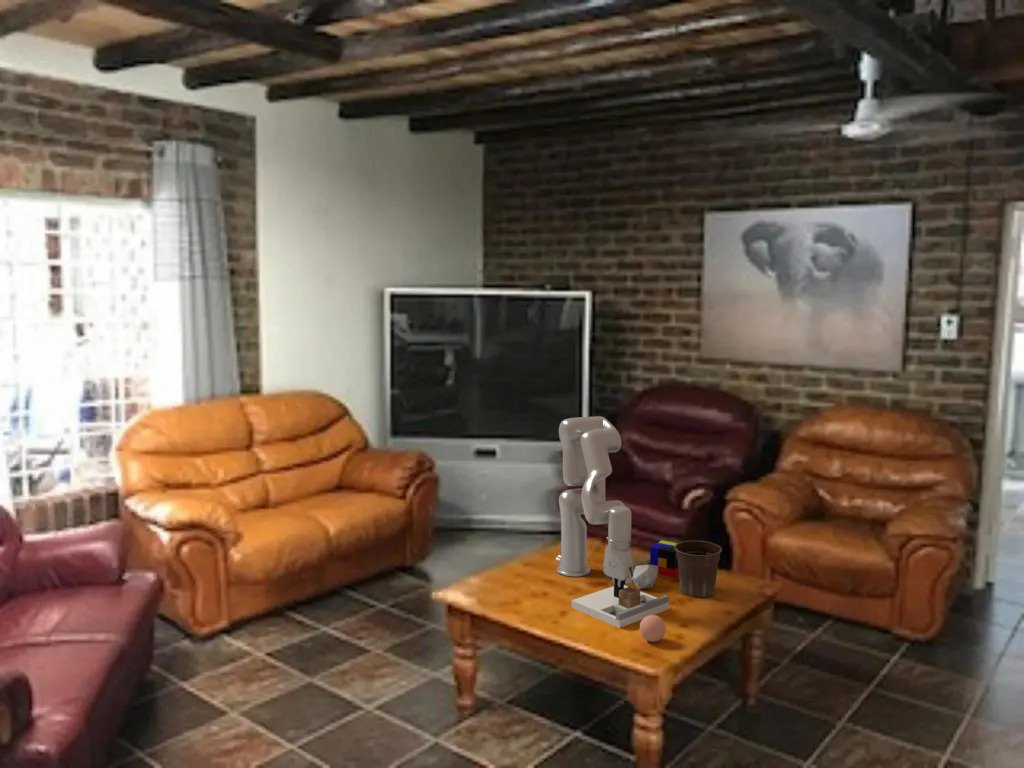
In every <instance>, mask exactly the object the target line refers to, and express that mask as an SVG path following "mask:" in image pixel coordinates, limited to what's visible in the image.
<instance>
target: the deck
mask: <svg viewBox="0 0 1024 768" xmlns="http://www.w3.org/2000/svg"><path fill="white" fill-rule="evenodd" d="M627 587H629V586H627V585H624V588H627ZM639 591H640V605H637V606H634V607H631V608H629V609H628V608H626V607H623V606H621V605H619V598H616V597H614V585H613V586H610V587H607V588H604V589H601V590H598V591H596V592H592V593H589V594H586V595H583V596H581V597H578V598H575V599H571V601H570V602H571V606H570V607H571V609H573V610H576V611H579V612H581V613H583V614H586V615H588V616H591V617H593V618H595V619H597V620H599V621H602V622H604V623H607V624H609V625H611V626H614V627H615V628H618V629H620V628H623V627H625V626H628V625H630V624H631V625H632V624H634V623H636V622H639V621H642V620H643V619H644V618H645V617H646V616H649V615H658V614H661V613H662V612H664V611H668V610H669V609H670V596H669V595H667V594H664V595H661V596H659V597H656V596H654V595H651V594H649V593H646V592H644V591H641V590H639Z"/></svg>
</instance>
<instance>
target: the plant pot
mask: <svg viewBox="0 0 1024 768" xmlns="http://www.w3.org/2000/svg"><path fill="white" fill-rule="evenodd" d="M674 548H675V550H676V557H677V560H678V570H679V575H678V579H679V580H678V581H679V591H680V592H681V593H682V594H683V595H685V596H687V597H688V596H689V597H690V596H693V597H694V598H706V597H707V598H708V597H711V596H713V595H714V593H716V585H717V584H716V583H717V576H718V566H719V562H720V559H721V558H720V556H721V553H722V550H723V548H722V547H721V546H720V545H718V544H717V543H715V542H714V543H713V542H712V541H711V542H710V541H706V540H705V541H704V540H684V541H680V542H678V543H677V544H676V545H675V546H674Z"/></svg>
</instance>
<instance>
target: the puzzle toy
mask: <svg viewBox="0 0 1024 768" xmlns="http://www.w3.org/2000/svg"><path fill="white" fill-rule="evenodd" d="M676 544H677V543H676V542H672V541H667V540H660V541H659V542H657V543H655V544H653V545H651V546H649V547H650V549H649V551H650V552H649V565H650V566H651V568H652V569H653V570H654V572H655V573H656V574H657V576H658V575H659V576H662V577H663V576H664V577H668V578H672V579H675V578H677V577H679V570H678V560H677V557H676V550H675V548H674V546H675V545H676Z"/></svg>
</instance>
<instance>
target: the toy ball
mask: <svg viewBox="0 0 1024 768" xmlns="http://www.w3.org/2000/svg"><path fill="white" fill-rule="evenodd" d="M639 632H640V634H641V636H642V638H644V639H645V640H646V641H648V642H651V643H655V642H659V641H660V640H662V639H663V638H664V637H665V636H666V632H667V625H666V622H665V621H664V619H663V618H661V617H660V616H659V615H657V614H655V615H649V616H646V617H645V618H644V619H642V620H640V623H639Z"/></svg>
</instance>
